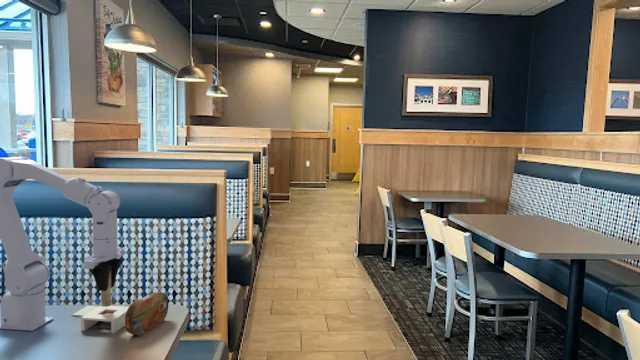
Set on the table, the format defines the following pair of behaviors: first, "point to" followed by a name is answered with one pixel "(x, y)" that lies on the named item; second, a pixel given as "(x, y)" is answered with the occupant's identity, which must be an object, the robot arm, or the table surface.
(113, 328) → the box
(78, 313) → the mat
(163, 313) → the tin
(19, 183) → the robot arm
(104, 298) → the wooden block
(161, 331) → the table surface
